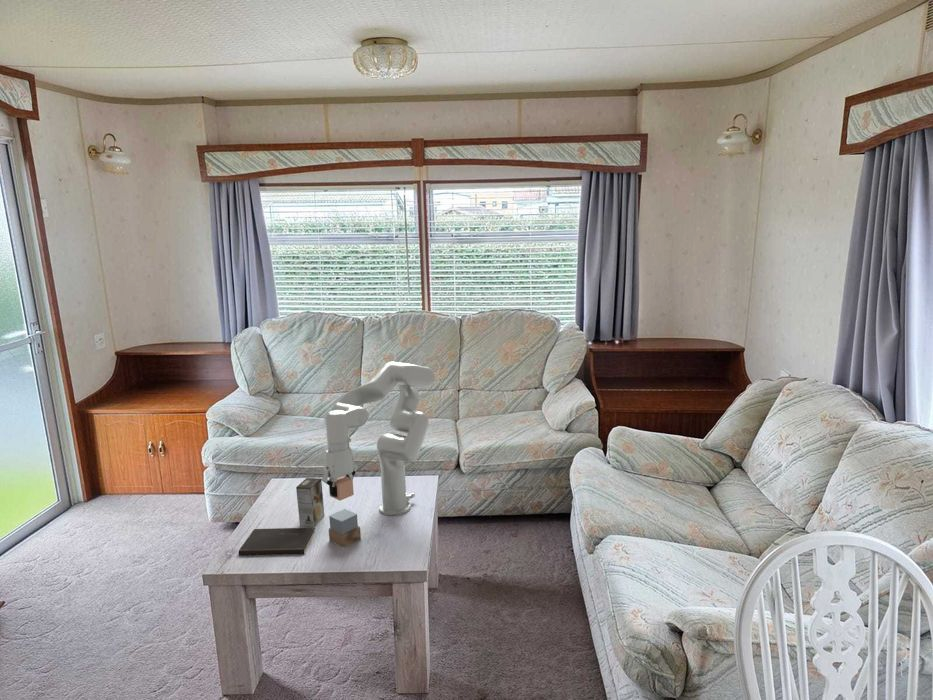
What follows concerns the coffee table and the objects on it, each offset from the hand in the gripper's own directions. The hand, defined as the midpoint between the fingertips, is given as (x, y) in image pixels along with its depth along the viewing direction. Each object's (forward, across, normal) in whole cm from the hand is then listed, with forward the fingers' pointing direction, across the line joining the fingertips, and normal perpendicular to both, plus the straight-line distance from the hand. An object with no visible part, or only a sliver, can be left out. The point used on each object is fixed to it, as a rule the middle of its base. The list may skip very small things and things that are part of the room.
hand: (341, 492), depth 213 cm
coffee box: (+19, -1, -22) cm, 29 cm away
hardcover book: (+19, +16, -17) cm, 31 cm away
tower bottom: (+19, 0, 0) cm, 19 cm away
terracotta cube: (+1, 0, 0) cm, 1 cm away
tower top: (+14, 0, 0) cm, 14 cm away
